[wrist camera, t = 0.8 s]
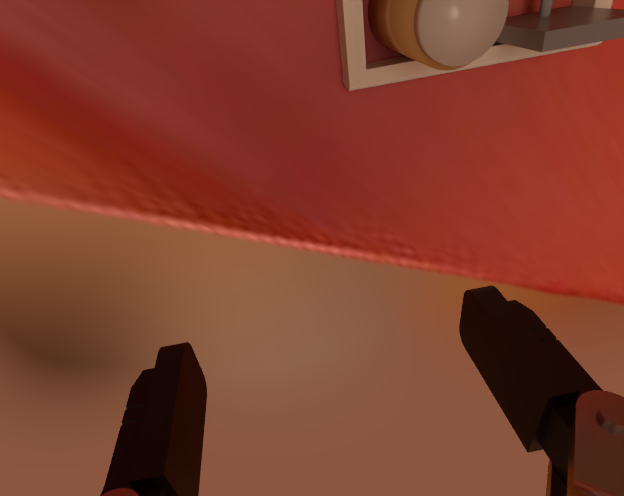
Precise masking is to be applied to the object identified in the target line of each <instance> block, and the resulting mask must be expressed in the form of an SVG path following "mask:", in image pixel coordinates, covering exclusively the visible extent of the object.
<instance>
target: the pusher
mask: <svg viewBox="0 0 624 496" xmlns="http://www.w3.org/2000/svg"><path fill="white" fill-rule="evenodd" d="M552 3H553V0H541V3H540V9H539V12H535V13H530V14H524V15H519V16H513V17H508V18H506V21H505V24H504V26H503V29H502V31H501V33H500V35H499V37H498V38H497V40H496V41H495V42H499V43H503V44H507V45H512V46H516V47H520V48H525V49H529V50H533V51H538V52H547V51H552V50H558V49H563V48H569V47H574V46H579V45H585V44H590V43H596V42H601V41H606V40H612V39H617V38H623V37H624V10H623V9H608V8H593V7H578V6H568V7H563V8H557V9H552V10H551V8H552Z"/></svg>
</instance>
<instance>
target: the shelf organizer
mask: <svg viewBox="0 0 624 496" xmlns="http://www.w3.org/2000/svg"><path fill="white" fill-rule="evenodd" d="M612 1H613V0H573V3H572V6H578V7H593V8H608V9H611V5H612ZM336 8H337V18H338V29H339V40H340V51H341V62H342V73H343V83H344V86H345V87H346V88H347V89H348V90H349V91H352V90H357V89H363V88H368V87H373V86H379V85H384V84H390V83H395V82H400V81H406V80H411V79H417V78H422V77H427V76H433V75H438V74H444V73H449V72H454V71H460V70H465V69H470V68H476V67H481V66H487V65H492V64H497V63H503V62H508V61H514V60H519V59H524V58H530V57H535V56H541V55H546V54H551V53H557V52H562V51H568V50H573V49H578V48H584V47H589V46H595V45H599V43H602V41H601V42H596V43H590V44H585V45H579V46H574V47H569V48H563V49H558V50H552V51H547V52H538V51H533V50H529V49H525V48H520V47H516V46H512V45H507V44H503V43H499V42H495V43H494V44H493V45H492V47H491V48H490V49H489V50H488V51H487V52H486V53H485V54H484V55H482V56H481V57H480V58H478V59H477V60H475V61H473V62H471V63H470V64H468V65H466V66H464V67H461V68H459V69H455V70H448V71H446V70H437V69H434V68H431V67H429V66H426V65H424V64H422V63H420V62H418V61H415V60H413V59H411V58H409V57H406V56H401V57H396V58H390V59H385V60H379V61H374V62H368V63H366V56H365V39H364V22H363V5H362V0H336Z"/></svg>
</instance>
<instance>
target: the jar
mask: <svg viewBox="0 0 624 496" xmlns="http://www.w3.org/2000/svg"><path fill="white" fill-rule="evenodd" d="M508 4H509V0H369V3H368V21H369V25H370V28H371V31H372V33H373V35H374V36H375V38H376V39H377V40H378V41H379V42H380V43H381V44H382V45H383V46H385V47H387V48H389V49H391V50H393V51H395V52H397V53H400V54H402V55H404V56H406V57H409V58H411V59H413V60H415V61H418V62H420V63H422V64H424V65H426V66H429V67H431V68H434V69H437V70H446V71H448V70H455V69H459V68H461V67H464V66H466V65H468V64H470V63H471V62H473V61H475V60H477V59H478V58H480V57H481V56H482V55H484V54H485V53H486V52H487V51H488V50H489V49H490V48H491V47H492V45H493V44H494V43H495V41H496V40H497V38H498V37H499V35H500V33H501V31H502V29H503V26H504V24H505V21H506V17H507V13H508Z"/></svg>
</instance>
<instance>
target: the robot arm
mask: <svg viewBox="0 0 624 496" xmlns="http://www.w3.org/2000/svg"><path fill="white" fill-rule="evenodd" d="M459 329H460V336H461V340H462V343H463V345H464V347H465V349H466V351H467V352H468V354H469V355H470V357H471V359H472V361H473V362H474V363H475V366H476V367H477V369H478V370H479V372H480V374H481V375H482V377H483V379H484V380H485V382H486V384H487V385H488V387H489V389H490V390H491V392H492V394H493V395H494V397H495V399H496V400H497V402H498V404H499V405H500V407H501V408H502V410H503V412H504V414H505V415H506V417H507V419H508V420H509V422H510V424H511V425H512V427H513V429H514V430H515V432H516V434H517V435H518V437H519V439H520V440H521V442H522V444H523V445H524V447H525V449H526V450H527V452H533V451H537V450H542V449H544V451H545V452H546V454H547V456H548V457H549V459H550V461H549V465H548V474H547V488H546V496H624V397H622V396H620V395H617V394H614V393H611V392H608V391H603V390H602V389H601V388H600V387H599V386H598V385H597V384H596V382H595V381H594V380H593V379H592V378H591V377H590V376H589V374H588V373H587V372H586V371H585V370H584V369H583V368H582V366H581V365H580V364H579V363H578V362H577V361H576V360H575V358H573V356H572V355H571V354H570V353H569V352H568V350H567V349H566V348H565V347H564V346H563V345H562V344H561V342H559V340H558V341H557V340H556V337H555V336H554V335H553V333H552V332H551V331H550V330H549V329H548V328H546V325H545V324H544V323H543V322H542V321H541V320H540V318H539V317H538V316H537V315H536V314H535V313H534V312H533V311H532V310H531V309H529V308H527V307H526V306H524V305H523V304H521V303H519V302H518V301H516V300H512V301H507V300H506V299H505V298H504V297H503V295H502V294H501V293H500V292H499V290H498V289H497V288H495V287H494V286H487V287H482V288H477V289H471V290H467V291H465V293H464V298H463V305H462V311H461V318H460V326H459ZM206 400H207V387H206V381H205V377H204V374H203V372H202V369H201V367H200V365H199V363H198V360H197V358H196V356H195V353H194V351H193V349H192V347H191V345H190V343H188V342H187V343H181V344H176V345H171V346H165V347H161V348H160V349H159V352H158V355H157V360H156V364H155V368H152V369H147V370H143V371H142V373H141V375H140V376H139V377H138V379H137V380H136V382H135V383H134V385H133V386H132V388H131V391H130V394H129V398H128V402H127V405H126V407H127V409H126V410H125V413H124V416H123V420H122V426H121V427H120V431H119V434H118V438H117V442H116V446H115V449H114V453H113V457H112V460H111V464H110V467H109V471H108V475H107V478H106V482H105V485H104V488H103V491H102V493H101V495H100V496H198V493H199V481H200V470H201V458H202V447H203V436H204V424H205V413H206Z"/></svg>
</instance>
